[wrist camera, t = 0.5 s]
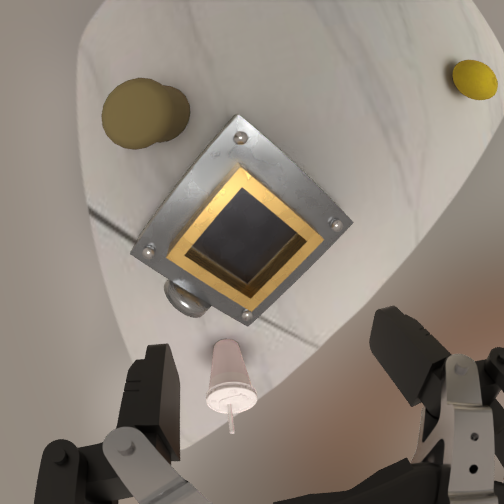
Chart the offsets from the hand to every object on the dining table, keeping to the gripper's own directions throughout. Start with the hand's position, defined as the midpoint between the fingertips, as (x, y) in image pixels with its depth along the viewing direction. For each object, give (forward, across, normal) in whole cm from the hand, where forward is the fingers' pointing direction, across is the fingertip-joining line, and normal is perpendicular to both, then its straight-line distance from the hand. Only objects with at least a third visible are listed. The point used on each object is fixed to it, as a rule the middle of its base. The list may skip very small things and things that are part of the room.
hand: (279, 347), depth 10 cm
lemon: (+20, -31, -18) cm, 41 cm away
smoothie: (+25, +2, +21) cm, 32 cm away
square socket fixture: (+22, -1, +2) cm, 22 cm away
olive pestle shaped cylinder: (+22, +6, -11) cm, 25 cm away
